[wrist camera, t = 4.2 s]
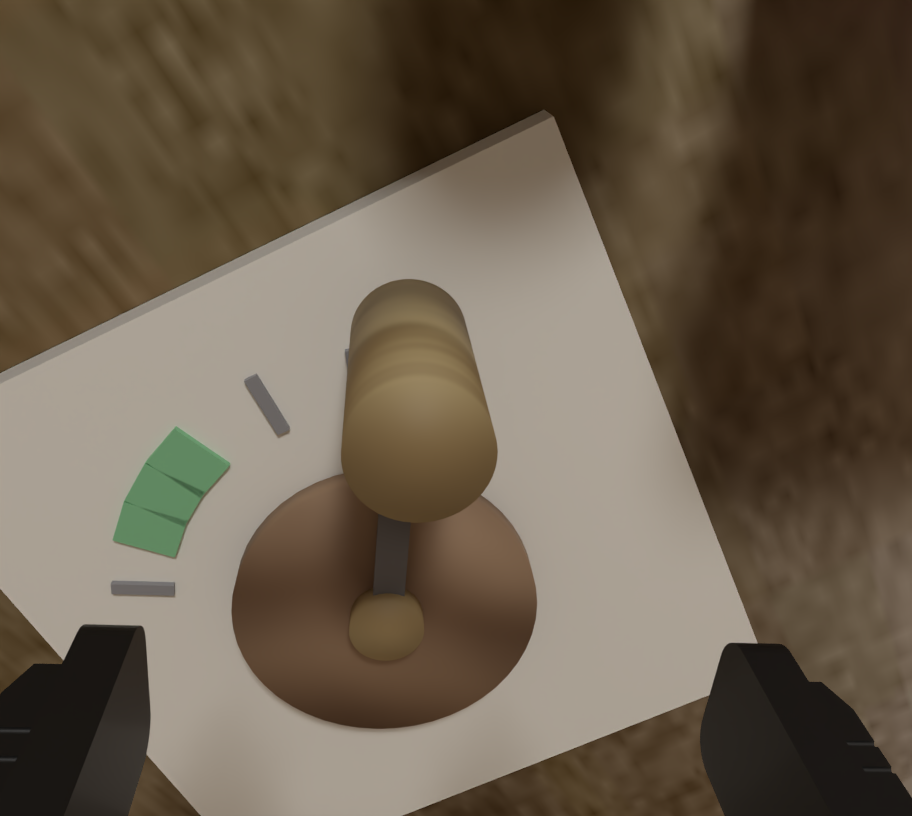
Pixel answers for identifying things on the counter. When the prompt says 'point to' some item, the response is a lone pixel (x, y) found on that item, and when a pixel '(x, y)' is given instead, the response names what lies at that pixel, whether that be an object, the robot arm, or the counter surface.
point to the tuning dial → (393, 539)
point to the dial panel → (319, 457)
